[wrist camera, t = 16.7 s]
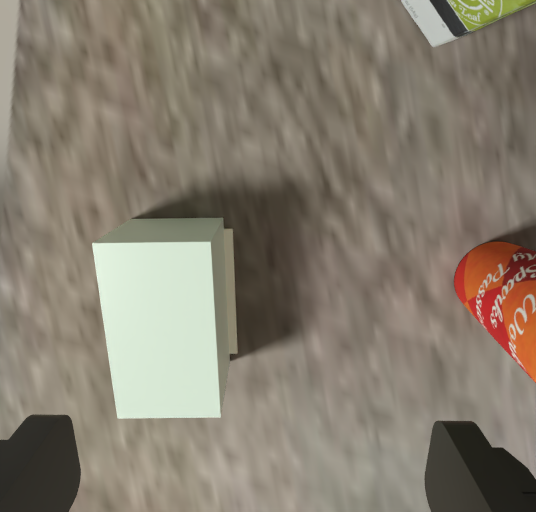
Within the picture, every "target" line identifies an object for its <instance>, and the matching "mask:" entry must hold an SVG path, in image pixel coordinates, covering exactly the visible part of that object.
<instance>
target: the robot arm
mask: <svg viewBox="0 0 536 512" xmlns="http://www.w3.org/2000/svg"><path fill="white" fill-rule="evenodd" d="M80 476H81V469H80V463H79V457H78V452H77V446H76V441H75V435H74V430H73V424H72V420H71V418H70V417H69V416H68V415H30V416H29V417H27V418H26V419H25V420H24V421H23V423H22V424H21V425H20V426H19V428H18V429H17V430H16V431H15V432H14V434H13V435H12V436H11V437H10V439H9V440H0V512H69V510H70V508H71V506H72V504H73V502H74V500H75V498H76V495H77V492H78V488H79V484H80ZM425 490H426V496H427V500H428V504H429V507H430V509H431V512H536V479H535V478H534V476H533V475H532V474H531V472H530V471H529V469H528V468H527V467H526V466H524V465H523V464H522V463H521V462H520V461H518V460H517V459H516V458H515V457H513V456H512V455H511V454H510V453H509V452H507V451H506V450H505V449H504V448H492V447H491V445H490V444H489V442H488V441H487V439H486V438H485V436H484V435H483V433H482V432H481V430H480V429H479V427H478V426H477V425H476V424H475V423H474V422H472V421H436V422H435V423H434V425H433V429H432V435H431V441H430V447H429V453H428V459H427V465H426V471H425Z"/></svg>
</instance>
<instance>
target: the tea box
mask: <svg viewBox="0 0 536 512" xmlns="http://www.w3.org/2000/svg"><path fill="white" fill-rule="evenodd" d="M401 1H402V3H403V5H404V6H405V8H406V9H407V11H408V12H409V14H410V15H411V17H412V18H413V19H414V21H415V22H416V24H417V25H418V26H419V28H420V29H421V31H422V32H423V34H424V35H425V37H426V38H427V40H428V41H429V42H430V44H431V45H432V47H437V46H440V45H442V44H445V43H448V42H451V41H453V40H456V39H458V38H460V37H462V36H466V35H468V34H470V33H472V32H474V31H476V30H478V29H481V28H483V27H485V26H487V25H489V24H491V23H493V22H495V21H497V20H499V19H501V18H504V17H506V16H508V15H510V14H512V13H514V12H517V11H519V10H521V9H523V8H526V7H528V6H531V5H533V4H535V3H536V0H401Z"/></svg>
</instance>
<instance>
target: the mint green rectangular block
mask: <svg viewBox="0 0 536 512" xmlns="http://www.w3.org/2000/svg"><path fill="white" fill-rule="evenodd" d="M92 246H93V252H94V259H95V266H96V273H97V280H98V287H99V294H100V301H101V308H102V315H103V322H104V328H105V335H106V342H107V349H108V356H109V363H110V370H111V377H112V384H113V391H114V397H115V404H116V411H117V418H202V417H221V412H222V406H223V400H224V395H225V389H226V383H227V377H228V371H229V365H230V354H229V335H228V314H227V292H226V271H225V250H224V221H223V218H164V219H130V220H128V221H127V222H125V223H123V224H122V225H120V226H119V227H117V228H116V229H114V230H112V231H111V232H109V233H108V234H106V235H104V236H103V237H101V238H100V239H98V240H97V241H95V242H93V243H92Z"/></svg>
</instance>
